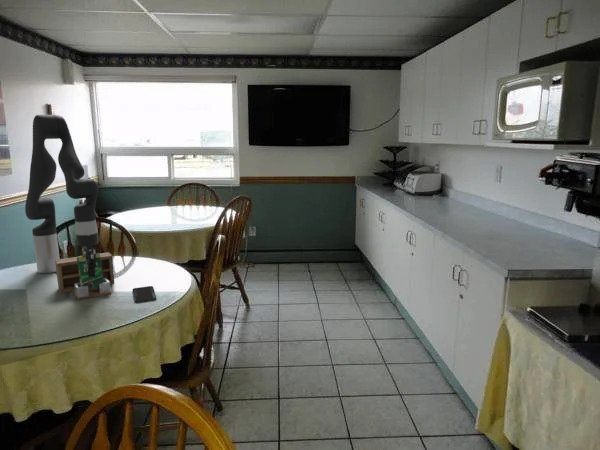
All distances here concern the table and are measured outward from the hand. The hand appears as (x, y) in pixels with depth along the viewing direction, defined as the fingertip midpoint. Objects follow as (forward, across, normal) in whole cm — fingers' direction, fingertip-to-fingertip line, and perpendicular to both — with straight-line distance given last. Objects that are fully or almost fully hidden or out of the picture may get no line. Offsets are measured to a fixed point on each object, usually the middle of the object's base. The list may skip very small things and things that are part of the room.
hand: (91, 275), depth 167 cm
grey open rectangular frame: (+8, 0, 0) cm, 8 cm away
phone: (+8, +12, +16) cm, 22 cm away
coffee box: (+5, 0, 0) cm, 5 cm away
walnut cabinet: (+8, -6, 0) cm, 10 cm away
